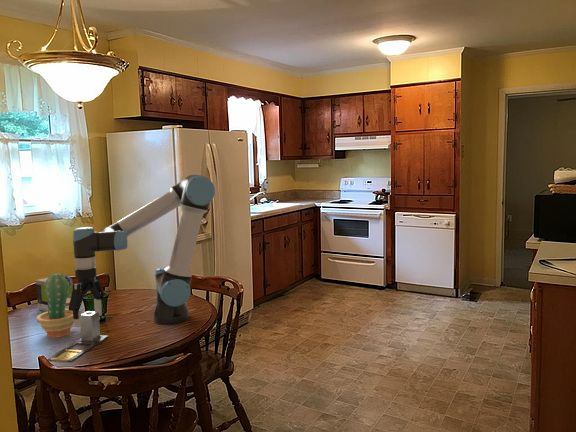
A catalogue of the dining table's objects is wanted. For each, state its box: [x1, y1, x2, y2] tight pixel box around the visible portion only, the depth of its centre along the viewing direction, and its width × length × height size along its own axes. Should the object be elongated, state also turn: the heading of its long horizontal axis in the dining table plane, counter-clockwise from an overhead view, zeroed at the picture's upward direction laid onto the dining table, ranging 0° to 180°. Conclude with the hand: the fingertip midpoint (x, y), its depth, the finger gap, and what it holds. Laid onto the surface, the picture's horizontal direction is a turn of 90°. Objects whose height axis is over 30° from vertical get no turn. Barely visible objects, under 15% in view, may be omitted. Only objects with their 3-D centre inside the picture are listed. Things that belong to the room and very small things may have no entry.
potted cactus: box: [35, 272, 74, 338], centre depth 198 cm, size 15×15×25 cm
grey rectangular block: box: [79, 310, 101, 343], centre depth 190 cm, size 5×5×11 cm
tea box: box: [35, 277, 74, 312], centre depth 231 cm, size 15×10×15 cm, turn 58°
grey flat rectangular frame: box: [47, 334, 109, 363], centre depth 184 cm, size 10×24×1 cm, turn 170°
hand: (88, 320), depth 190 cm, fingers open, 13 cm apart
